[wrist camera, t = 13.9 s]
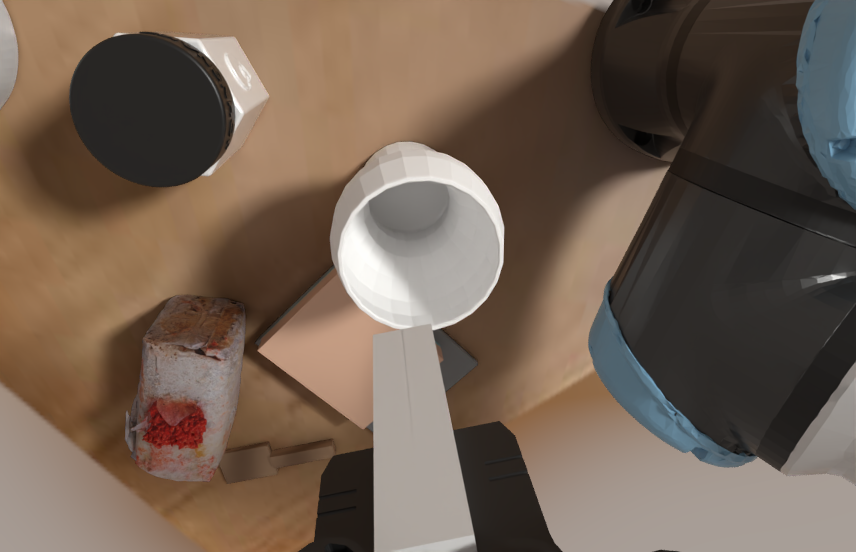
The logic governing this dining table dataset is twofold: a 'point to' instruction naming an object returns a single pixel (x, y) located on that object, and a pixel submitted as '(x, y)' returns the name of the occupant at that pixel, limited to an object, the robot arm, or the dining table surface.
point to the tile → (329, 348)
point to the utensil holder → (7, 55)
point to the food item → (187, 388)
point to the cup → (417, 238)
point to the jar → (165, 104)
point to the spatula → (270, 459)
